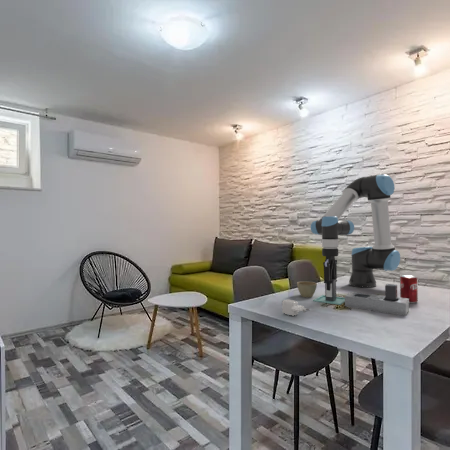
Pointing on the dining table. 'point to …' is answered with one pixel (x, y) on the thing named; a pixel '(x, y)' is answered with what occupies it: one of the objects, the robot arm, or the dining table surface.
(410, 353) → the dining table surface
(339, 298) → the tray
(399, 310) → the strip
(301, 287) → the flower pot
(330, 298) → the plug
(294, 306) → the white lumpy piece
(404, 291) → the soda can
